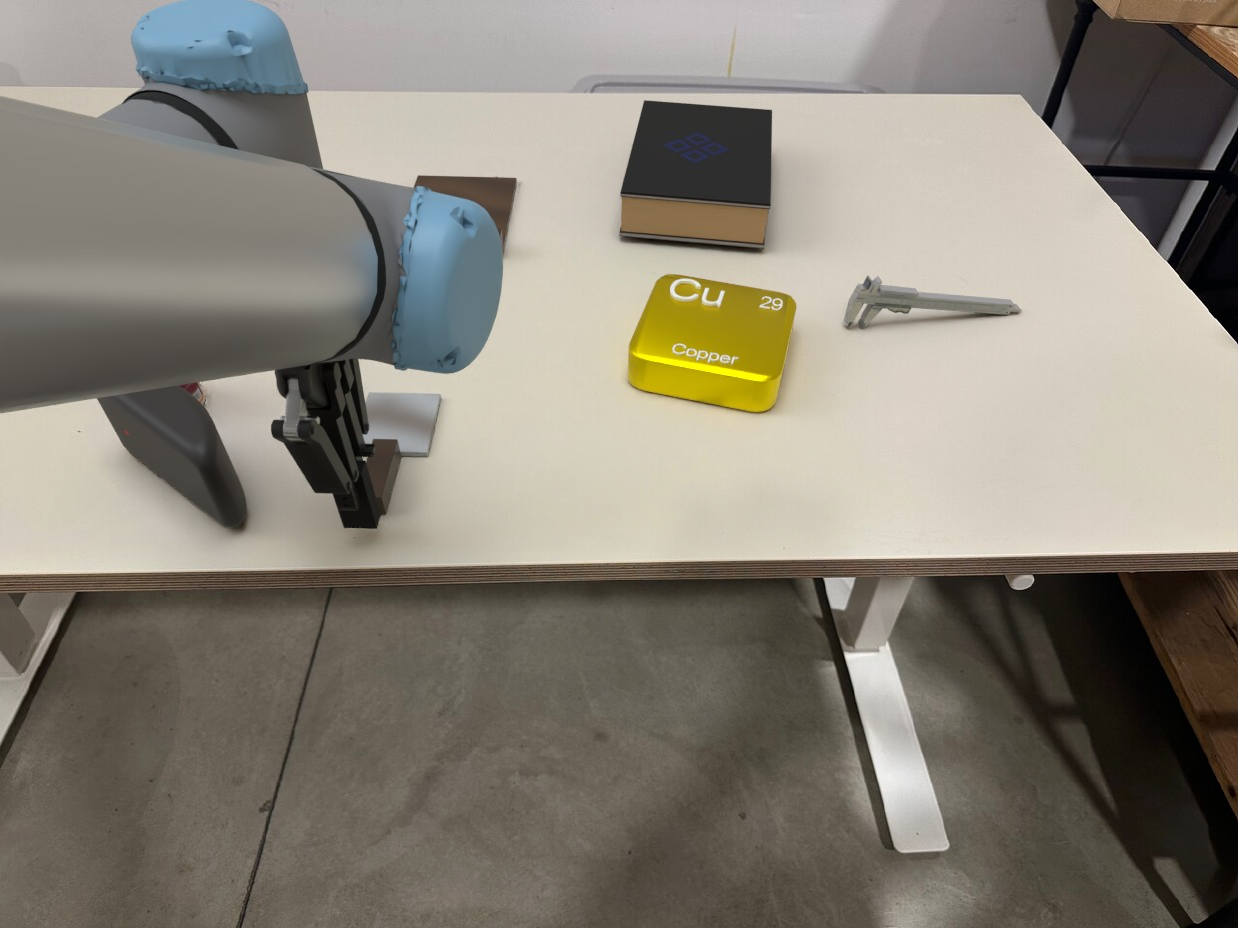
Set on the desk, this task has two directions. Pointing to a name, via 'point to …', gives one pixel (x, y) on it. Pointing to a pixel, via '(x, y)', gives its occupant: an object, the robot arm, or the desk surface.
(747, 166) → the book
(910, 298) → the caliper
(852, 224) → the desk surface
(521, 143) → the desk surface
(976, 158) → the desk surface
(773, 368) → the element tile
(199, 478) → the leaning round-cornered charcoal block
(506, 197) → the corner stop
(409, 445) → the spatula
